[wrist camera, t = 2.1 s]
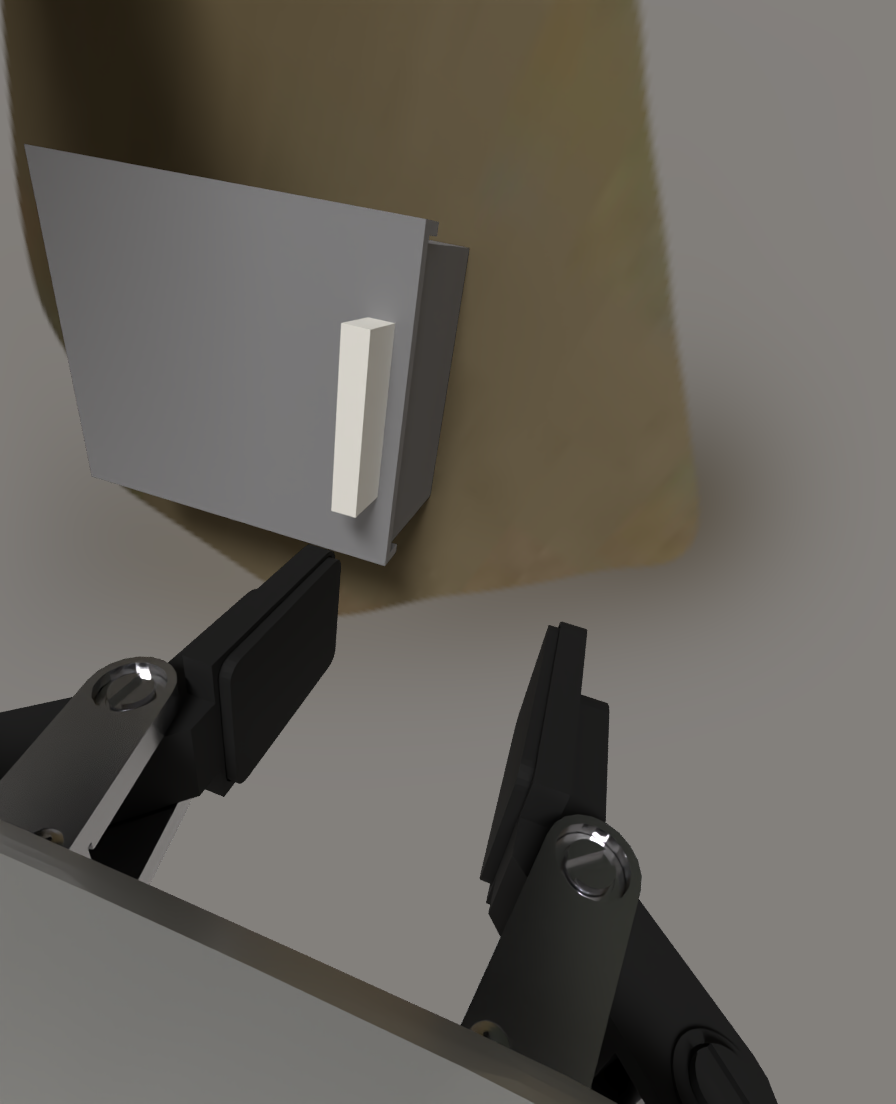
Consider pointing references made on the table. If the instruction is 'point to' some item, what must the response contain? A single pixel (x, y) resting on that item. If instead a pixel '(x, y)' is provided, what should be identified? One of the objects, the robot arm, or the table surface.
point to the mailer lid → (237, 343)
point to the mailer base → (430, 375)
